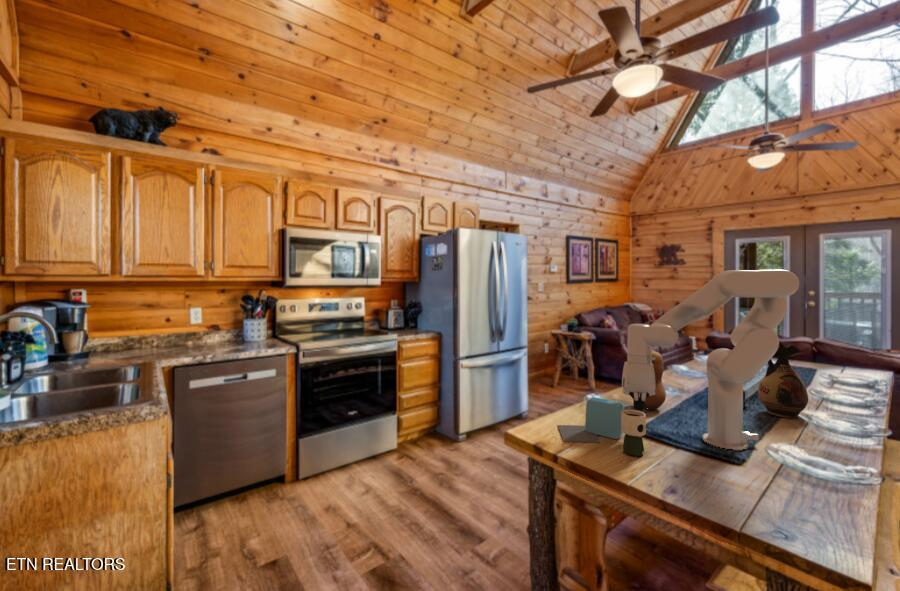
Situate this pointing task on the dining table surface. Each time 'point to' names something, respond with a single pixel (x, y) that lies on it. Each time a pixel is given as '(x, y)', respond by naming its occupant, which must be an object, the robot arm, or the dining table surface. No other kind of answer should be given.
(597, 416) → the data package
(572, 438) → the mat
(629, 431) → the character mug
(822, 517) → the dining table surface
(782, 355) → the ceramic jug
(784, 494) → the dining table surface
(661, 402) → the butternut squash
